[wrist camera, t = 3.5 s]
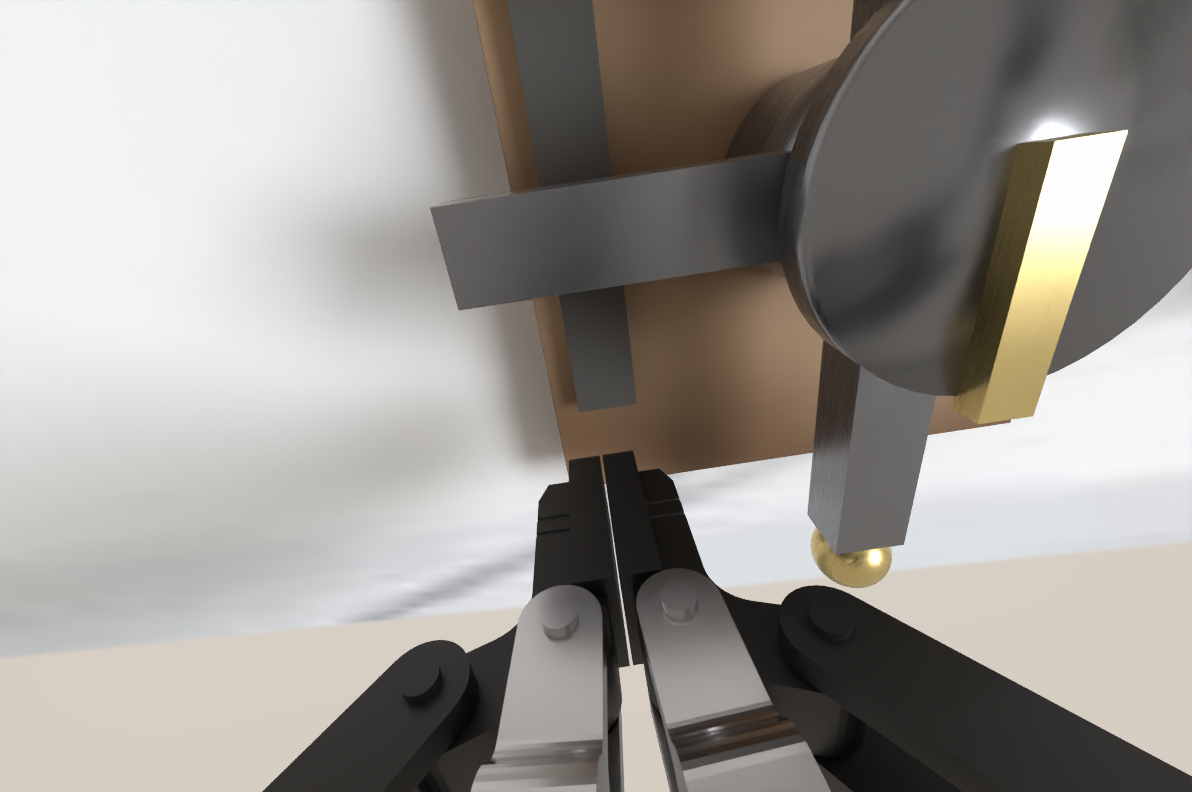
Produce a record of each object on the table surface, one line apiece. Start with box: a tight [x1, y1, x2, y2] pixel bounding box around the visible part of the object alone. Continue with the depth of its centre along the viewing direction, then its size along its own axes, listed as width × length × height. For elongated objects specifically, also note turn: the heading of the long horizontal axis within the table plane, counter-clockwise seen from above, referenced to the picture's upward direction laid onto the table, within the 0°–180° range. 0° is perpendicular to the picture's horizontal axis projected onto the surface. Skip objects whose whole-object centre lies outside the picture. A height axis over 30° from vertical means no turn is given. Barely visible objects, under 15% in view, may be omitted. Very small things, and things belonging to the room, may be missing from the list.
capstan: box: [430, 0, 1192, 588], centre depth 8 cm, size 17×16×6 cm
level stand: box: [473, 0, 1011, 484], centre depth 12 cm, size 16×14×3 cm
